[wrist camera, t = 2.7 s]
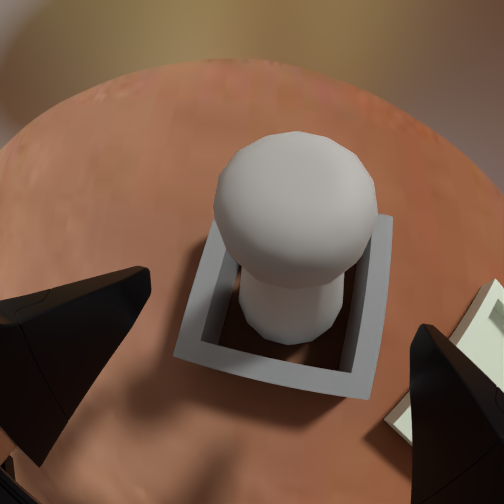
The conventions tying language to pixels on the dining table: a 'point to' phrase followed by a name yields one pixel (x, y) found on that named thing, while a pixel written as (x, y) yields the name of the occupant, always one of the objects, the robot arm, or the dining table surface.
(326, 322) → the salt shaker
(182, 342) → the holder
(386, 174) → the dining table surface
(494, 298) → the tray
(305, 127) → the dining table surface
